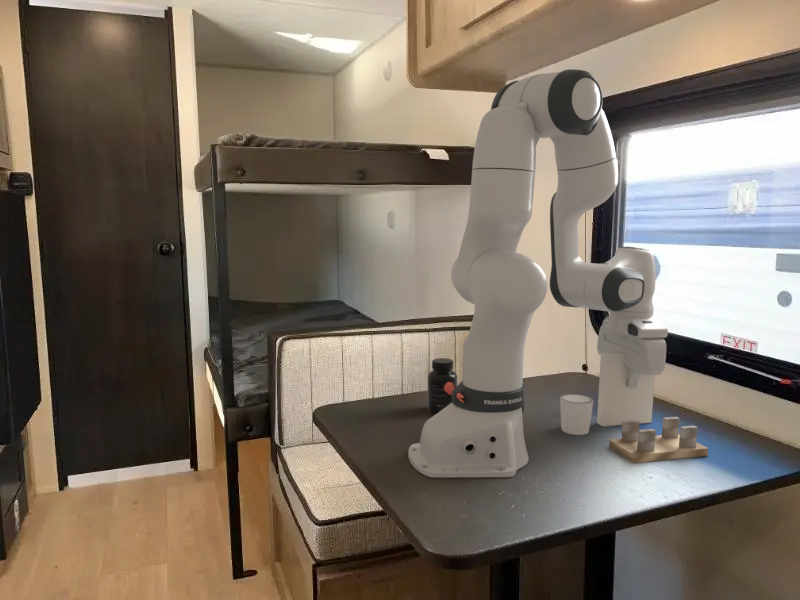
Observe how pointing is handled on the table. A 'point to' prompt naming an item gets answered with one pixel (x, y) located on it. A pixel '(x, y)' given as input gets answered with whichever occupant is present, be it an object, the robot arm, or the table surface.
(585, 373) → the table surface
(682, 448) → the peg board base
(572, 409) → the white cup
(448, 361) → the supplement bottle
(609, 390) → the rectangular slab
